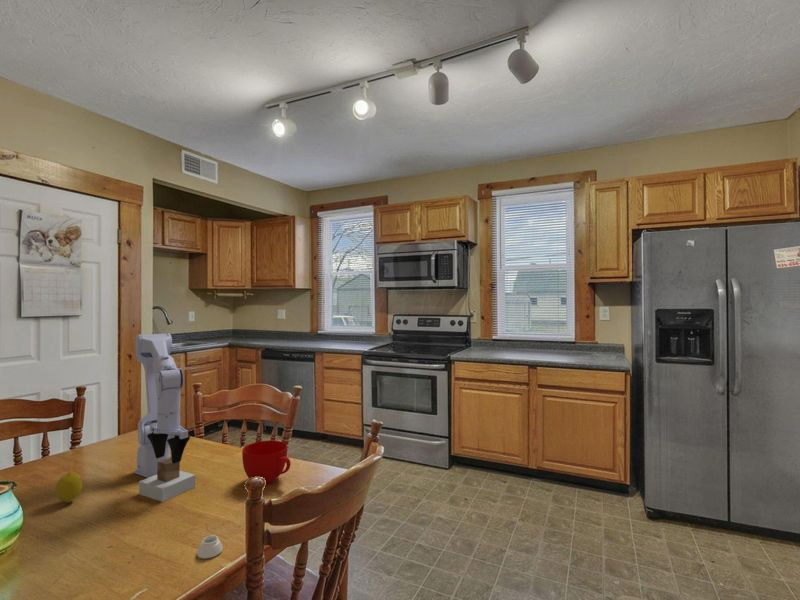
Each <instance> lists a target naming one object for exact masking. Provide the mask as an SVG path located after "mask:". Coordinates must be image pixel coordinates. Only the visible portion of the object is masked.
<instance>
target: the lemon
mask: <svg viewBox="0 0 800 600" xmlns="http://www.w3.org/2000/svg"><path fill="white" fill-rule="evenodd" d="M82 489H83V481H82V478H81V476H80V475H79V474H78V473H74V472H71V471H70V472H67V473H66V474H64V475H62V476H61V477H60V478H59V480H58V481H57V483H56V486H55V495H56V498H57V499H58V500H59V501H62V502H65V503H68V504H69V503H71V502H72V501H73V500H75V499H76V498H78V496H79V495H80V494H81V493H82V491H83V490H82Z"/></svg>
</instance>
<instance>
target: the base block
mask: <svg viewBox="0 0 800 600" xmlns="http://www.w3.org/2000/svg"><path fill="white" fill-rule="evenodd" d="M138 483H139V485H138V494H139V495H141V496H143V497H147V498H149V499H152V500H156V501H159V502H161V503H164V502H166V501H168V500H171V499H172V498H174V497H177V496H178V495H181V494H184V493H185V492H187V491H190V490H192V489H194V488H196V474H193V473H190V472H187V471H183V470H180V474H179V477H178V478H176V479H173V480H171V481H168V482H164V481H161V480H158V479H157V475H154V476H152V477H149V478H147V477H146V478H144V479H142V480H139V481H138Z"/></svg>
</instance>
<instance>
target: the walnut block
mask: <svg viewBox="0 0 800 600" xmlns="http://www.w3.org/2000/svg"><path fill="white" fill-rule="evenodd" d="M180 462H181V461H180ZM180 462H177V463H175V464H174V463H172V458H171V456H170V457H169V458H167V459H164V460H161V461H158V462H157V479H158V480H161V481H164V482H168V481H171V480H173V479H176V478H178V477H179V474H180V471H181V470H180V467H181V466H180Z"/></svg>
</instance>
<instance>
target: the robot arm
mask: <svg viewBox="0 0 800 600" xmlns="http://www.w3.org/2000/svg"><path fill="white" fill-rule="evenodd" d="M134 346H135V347H134V348H135V358H136V362H137V363H140V364H142V366H143V369H144V376H145V393H146V408H147V413H146V414H145V415H144V416H143V417H141V419H139V421H138V423H137V428H138V429H137V442H138V445H139V447H138V449H137V451H136V470H134V471H133V473H134V474H136V475H138V476H142V477H144V478H146V479H147V478H149V477H152V476H154V475H157V462H158V461H161V460H164V459H167V458H169V457H171V458H172V463H174V464H175V463H177V462H181V461H182V459H183V458H182V457H183V454H184V451H185V448H186V447H187V444H188V442H189V441H190V440H191V436H190V435H189V430H188V429H185V428H184V427H183V426H182V425H181V395H182V394H181V392H182V391H181V389H183V386H184V379H185V378H184V377H185V376H184V372H183V370H182V369H183V368H181V367H177V364H176V362H175V359H174V358H173V356H171V355H170V354H171V350H172V348H173V338H172V335H171V333H169V332H168V333H167V332H166V333H152V334H151V333H150V334H148V333H147V334H140V333H138V334H137V335H136V336H135V343H134Z"/></svg>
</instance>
